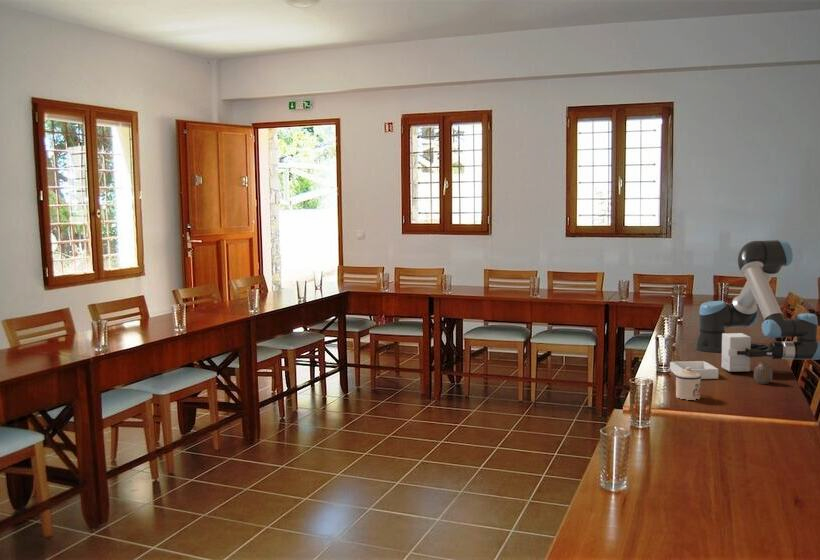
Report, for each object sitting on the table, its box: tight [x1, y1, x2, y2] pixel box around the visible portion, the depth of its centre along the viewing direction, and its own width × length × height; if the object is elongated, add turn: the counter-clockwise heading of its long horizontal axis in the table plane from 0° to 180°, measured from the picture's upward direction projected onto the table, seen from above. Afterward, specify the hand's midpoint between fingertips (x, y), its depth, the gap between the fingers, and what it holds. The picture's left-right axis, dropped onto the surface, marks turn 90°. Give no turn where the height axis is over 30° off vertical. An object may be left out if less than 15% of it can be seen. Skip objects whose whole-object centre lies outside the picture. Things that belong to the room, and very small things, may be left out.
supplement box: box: [720, 332, 752, 372], centre depth 316 cm, size 9×9×15 cm
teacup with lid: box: [675, 367, 702, 401], centre depth 281 cm, size 12×9×12 cm
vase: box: [753, 360, 773, 385], centre depth 298 cm, size 7×7×9 cm
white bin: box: [669, 360, 719, 380], centre depth 315 cm, size 15×15×4 cm
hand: (725, 349), depth 317 cm, fingers closed on supplement box, 10 cm apart
